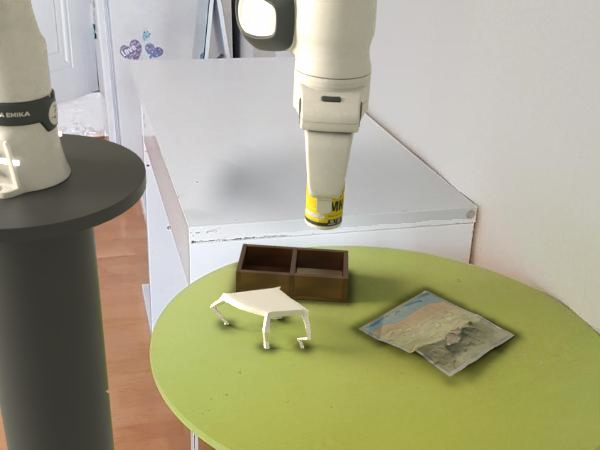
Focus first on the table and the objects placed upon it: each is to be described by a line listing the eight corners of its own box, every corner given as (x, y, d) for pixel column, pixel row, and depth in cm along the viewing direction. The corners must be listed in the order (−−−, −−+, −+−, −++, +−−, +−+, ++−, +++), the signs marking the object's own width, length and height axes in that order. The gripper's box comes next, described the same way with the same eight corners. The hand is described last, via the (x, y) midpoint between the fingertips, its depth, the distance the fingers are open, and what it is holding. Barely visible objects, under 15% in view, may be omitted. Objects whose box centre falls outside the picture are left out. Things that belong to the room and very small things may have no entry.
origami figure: (309, 314, 93) (311, 280, 91) (310, 355, 86) (312, 319, 83) (212, 310, 93) (212, 276, 91) (205, 351, 85) (204, 315, 83)
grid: (235, 294, 96) (235, 271, 95) (242, 265, 103) (243, 243, 101) (346, 302, 96) (348, 279, 94) (346, 272, 102) (348, 250, 101)
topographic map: (515, 336, 91) (517, 324, 90) (450, 380, 82) (451, 368, 81) (425, 293, 99) (427, 282, 99) (357, 329, 91) (358, 317, 90)
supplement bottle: (331, 234, 92) (335, 171, 88) (297, 224, 94) (300, 162, 90) (348, 220, 96) (353, 159, 92) (316, 210, 98) (319, 150, 94)
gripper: (308, 67, 97) (303, 166, 103) (299, 120, 78) (294, 236, 85) (357, 70, 96) (349, 169, 103) (360, 123, 78) (350, 240, 85)
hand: (324, 200), depth 94 cm, fingers closed on supplement bottle, 5 cm apart
